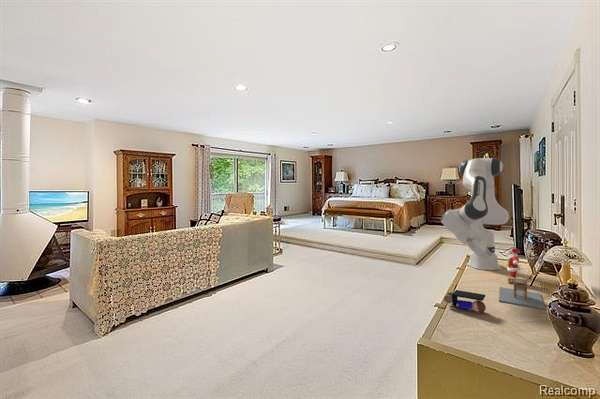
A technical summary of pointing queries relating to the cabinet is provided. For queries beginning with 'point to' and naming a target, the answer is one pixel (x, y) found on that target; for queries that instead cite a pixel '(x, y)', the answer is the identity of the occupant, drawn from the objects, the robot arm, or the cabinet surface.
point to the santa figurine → (513, 264)
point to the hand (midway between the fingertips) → (491, 258)
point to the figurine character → (476, 305)
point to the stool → (520, 286)
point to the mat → (521, 298)
